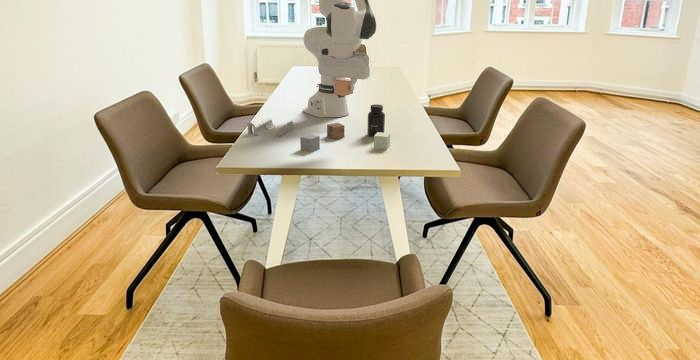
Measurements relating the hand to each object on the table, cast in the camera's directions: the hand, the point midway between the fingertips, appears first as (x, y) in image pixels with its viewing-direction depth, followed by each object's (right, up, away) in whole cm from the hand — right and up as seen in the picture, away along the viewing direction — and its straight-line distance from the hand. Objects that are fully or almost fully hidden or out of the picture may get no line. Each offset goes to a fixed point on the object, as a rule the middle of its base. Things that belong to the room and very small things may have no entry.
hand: (343, 89), depth 195 cm
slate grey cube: (-12, -22, +2) cm, 25 cm away
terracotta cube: (0, -2, +1) cm, 2 cm away
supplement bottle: (+13, -15, +20) cm, 28 cm away
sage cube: (+14, -21, +4) cm, 26 cm away
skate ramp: (-30, -14, +24) cm, 41 cm away
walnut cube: (-3, -16, +17) cm, 24 cm away
